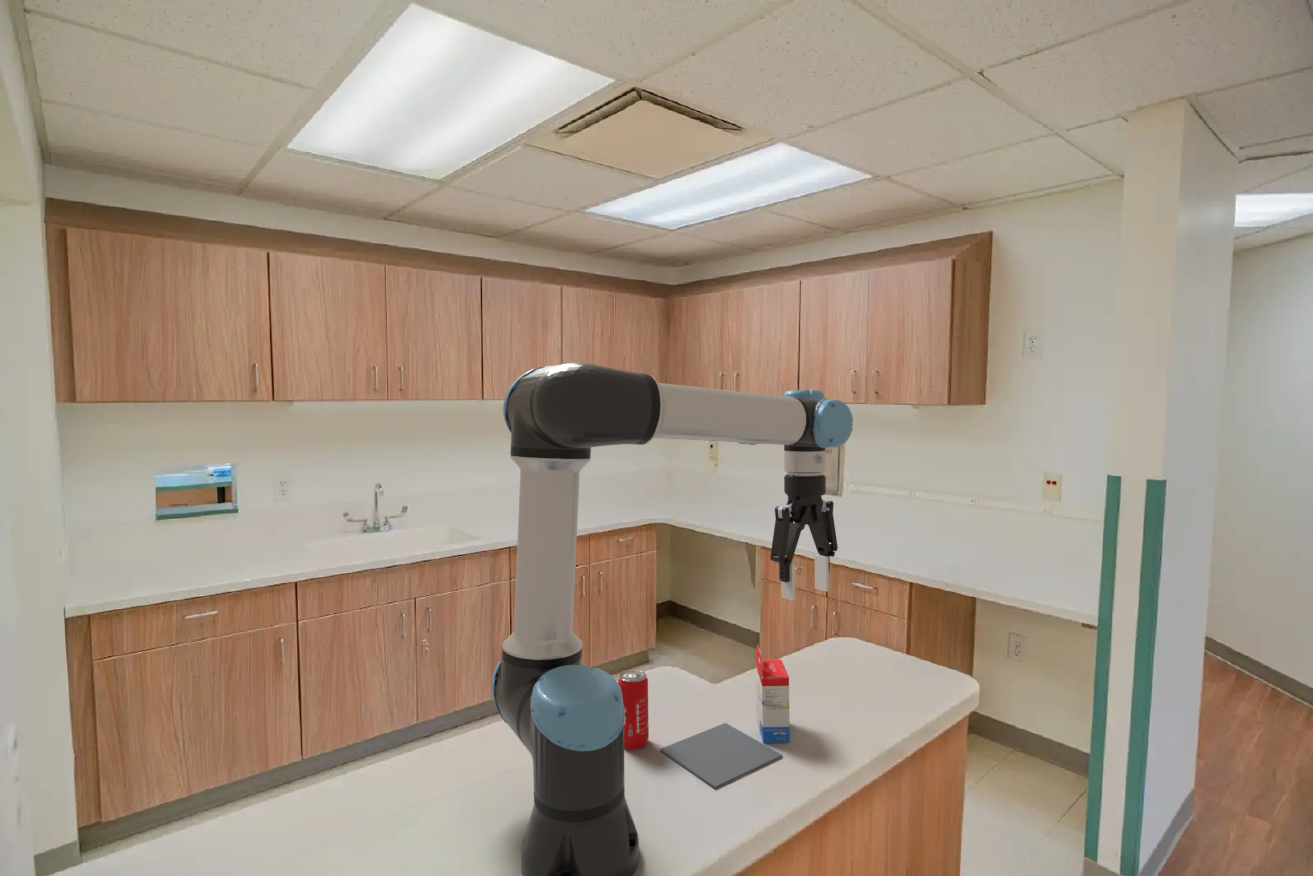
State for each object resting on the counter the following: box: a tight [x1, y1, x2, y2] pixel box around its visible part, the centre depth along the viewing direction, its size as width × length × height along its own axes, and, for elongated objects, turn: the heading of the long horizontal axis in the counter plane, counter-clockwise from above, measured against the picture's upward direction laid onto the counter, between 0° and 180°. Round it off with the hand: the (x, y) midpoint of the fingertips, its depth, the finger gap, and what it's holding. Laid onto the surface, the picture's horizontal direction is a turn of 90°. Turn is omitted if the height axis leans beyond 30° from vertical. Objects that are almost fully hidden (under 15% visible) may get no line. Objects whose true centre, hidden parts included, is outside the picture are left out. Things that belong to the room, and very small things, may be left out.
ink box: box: [755, 644, 791, 744], centre depth 116 cm, size 8×5×15 cm, turn 179°
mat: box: [659, 722, 783, 790], centre depth 109 cm, size 15×14×1 cm
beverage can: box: [617, 669, 650, 751], centre depth 113 cm, size 5×5×12 cm
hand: (805, 594), depth 121 cm, fingers open, 9 cm apart
